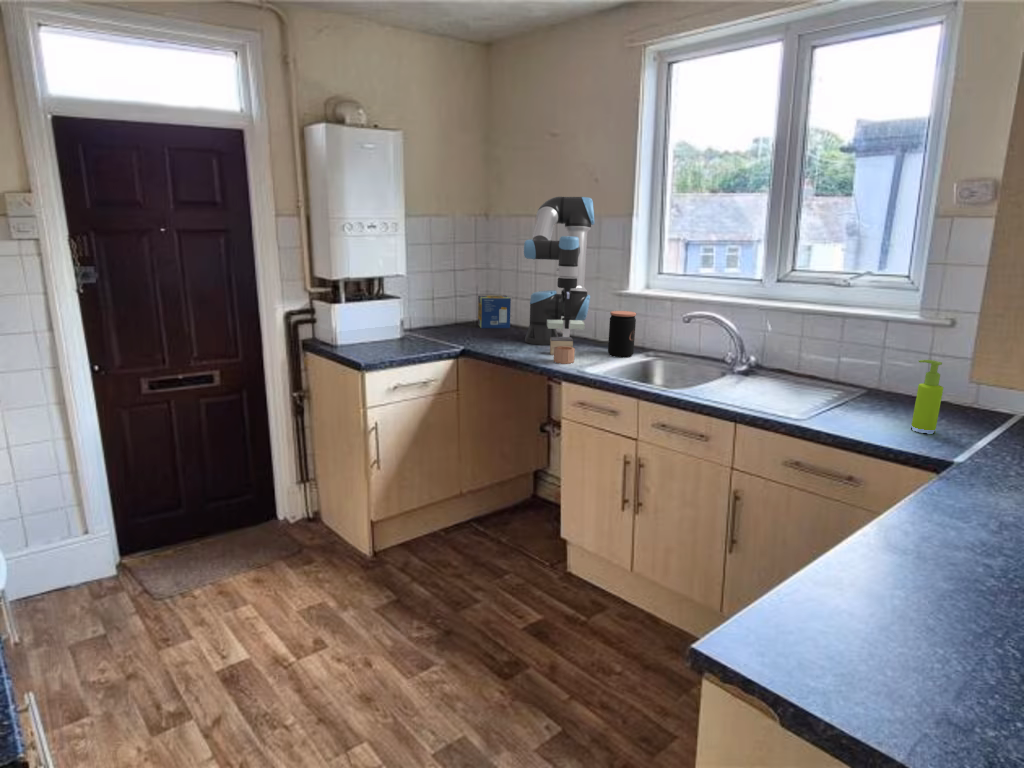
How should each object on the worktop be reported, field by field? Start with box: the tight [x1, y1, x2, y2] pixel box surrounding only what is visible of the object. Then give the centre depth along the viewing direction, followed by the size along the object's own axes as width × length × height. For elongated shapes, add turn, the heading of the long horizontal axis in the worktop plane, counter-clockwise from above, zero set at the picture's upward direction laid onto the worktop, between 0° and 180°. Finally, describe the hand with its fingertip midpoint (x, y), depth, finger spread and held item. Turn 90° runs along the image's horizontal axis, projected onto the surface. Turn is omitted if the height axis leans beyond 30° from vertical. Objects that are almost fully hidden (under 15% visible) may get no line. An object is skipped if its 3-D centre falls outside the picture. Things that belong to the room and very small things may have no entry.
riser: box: [549, 336, 574, 356], centre depth 280 cm, size 6×9×6 cm, turn 90°
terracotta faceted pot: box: [553, 346, 576, 365], centre depth 265 cm, size 8×8×6 cm
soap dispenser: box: [911, 359, 944, 430], centre depth 185 cm, size 6×7×20 cm
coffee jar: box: [607, 310, 637, 358], centre depth 279 cm, size 11×11×18 cm
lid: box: [547, 320, 586, 330], centre depth 262 cm, size 10×14×2 cm
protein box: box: [477, 295, 512, 329], centre depth 344 cm, size 10×15×16 cm
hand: (565, 334), depth 263 cm, fingers closed on lid, 10 cm apart
